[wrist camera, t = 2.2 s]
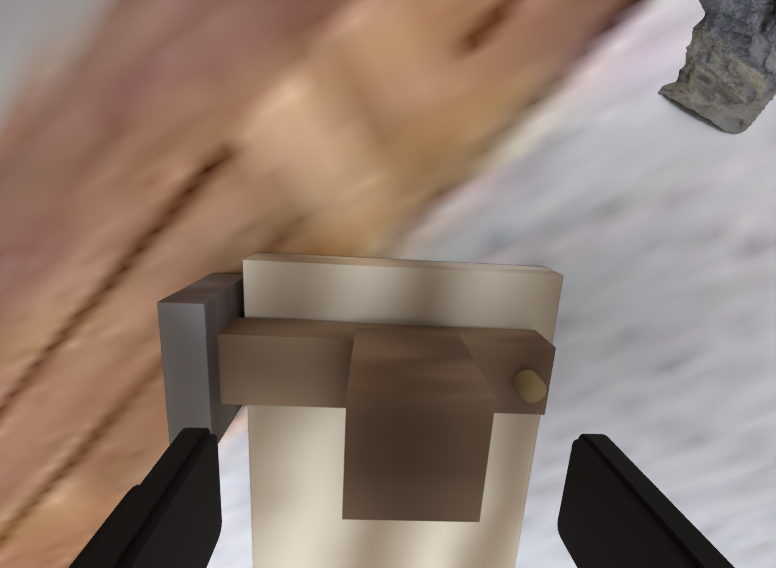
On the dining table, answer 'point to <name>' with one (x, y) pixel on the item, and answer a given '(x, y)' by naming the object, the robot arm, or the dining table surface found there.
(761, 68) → the driftwood
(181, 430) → the robot arm
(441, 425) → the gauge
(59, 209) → the dining table surface
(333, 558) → the board
